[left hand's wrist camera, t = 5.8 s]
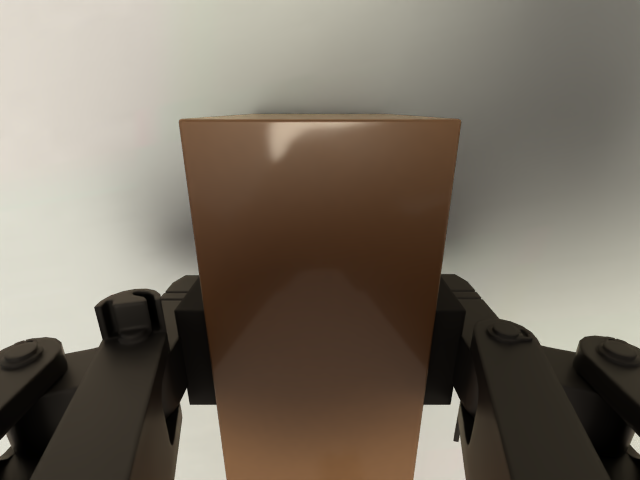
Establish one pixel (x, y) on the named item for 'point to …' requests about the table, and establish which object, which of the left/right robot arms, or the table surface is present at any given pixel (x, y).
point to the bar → (319, 285)
